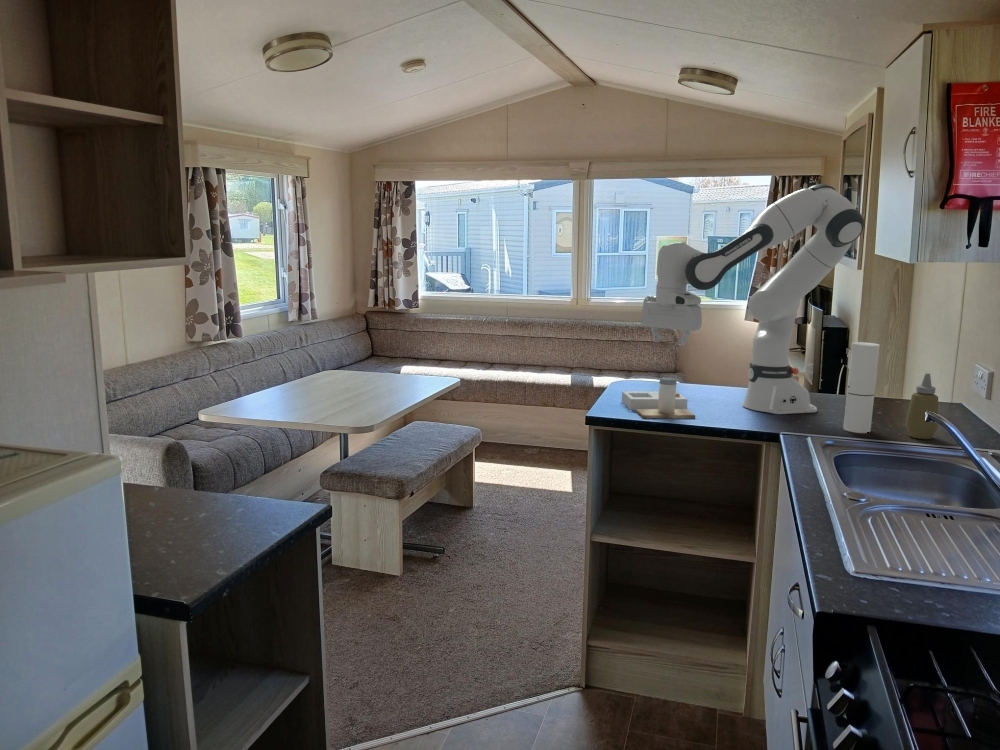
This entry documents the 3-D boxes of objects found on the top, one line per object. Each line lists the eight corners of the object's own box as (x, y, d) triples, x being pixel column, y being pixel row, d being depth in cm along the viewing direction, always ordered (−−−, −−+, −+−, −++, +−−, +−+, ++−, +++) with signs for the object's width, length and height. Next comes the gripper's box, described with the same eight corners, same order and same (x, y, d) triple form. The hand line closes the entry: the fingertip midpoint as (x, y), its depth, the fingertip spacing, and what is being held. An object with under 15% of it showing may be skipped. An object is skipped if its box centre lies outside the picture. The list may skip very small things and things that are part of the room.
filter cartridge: (676, 411, 237) (679, 379, 235) (671, 414, 232) (673, 381, 231) (661, 409, 239) (662, 377, 238) (655, 412, 235) (657, 379, 233)
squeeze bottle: (922, 442, 210) (930, 377, 207) (897, 434, 218) (904, 372, 214) (943, 439, 213) (951, 375, 210) (917, 432, 221) (924, 370, 217)
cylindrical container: (865, 427, 225) (874, 342, 221) (874, 433, 218) (883, 346, 214) (839, 426, 226) (848, 341, 221) (848, 432, 219) (857, 345, 214)
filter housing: (675, 401, 255) (675, 391, 254) (686, 410, 243) (687, 399, 243) (621, 401, 254) (622, 391, 253) (630, 410, 242) (631, 399, 241)
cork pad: (686, 412, 240) (686, 409, 240) (695, 418, 232) (695, 415, 232) (636, 412, 239) (636, 409, 239) (642, 418, 231) (643, 415, 231)
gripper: (637, 295, 235) (636, 340, 238) (692, 299, 220) (690, 347, 222) (650, 294, 239) (649, 339, 242) (705, 298, 224) (703, 345, 226)
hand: (669, 343), depth 232 cm, fingers open, 8 cm apart
